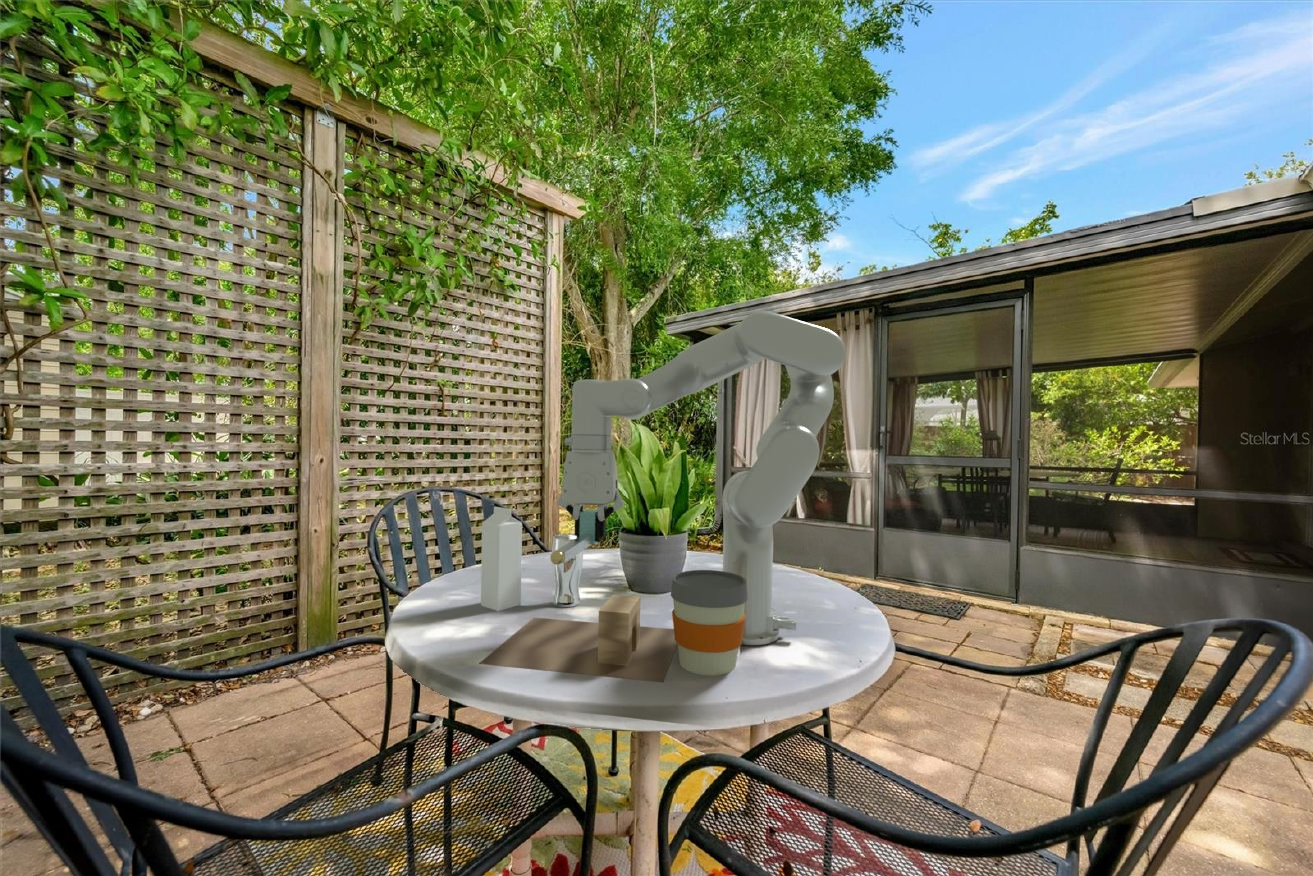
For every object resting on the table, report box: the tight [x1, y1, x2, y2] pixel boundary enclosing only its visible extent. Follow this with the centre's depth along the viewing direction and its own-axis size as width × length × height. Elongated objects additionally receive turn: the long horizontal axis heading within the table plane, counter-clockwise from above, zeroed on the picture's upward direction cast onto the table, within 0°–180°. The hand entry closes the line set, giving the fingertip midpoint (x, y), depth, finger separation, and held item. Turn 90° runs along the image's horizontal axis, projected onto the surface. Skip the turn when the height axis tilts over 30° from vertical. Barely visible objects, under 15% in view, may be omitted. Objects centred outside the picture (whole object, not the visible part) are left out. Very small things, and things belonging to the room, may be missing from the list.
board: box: [478, 617, 678, 683], centre depth 97 cm, size 30×22×1 cm
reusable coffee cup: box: [670, 569, 748, 676], centre depth 90 cm, size 13×13×15 cm
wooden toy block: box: [598, 594, 641, 666], centre depth 93 cm, size 5×9×8 cm, turn 170°
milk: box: [480, 506, 523, 612], centre depth 118 cm, size 6×6×22 cm
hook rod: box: [549, 508, 599, 565], centre depth 97 cm, size 21×3×6 cm, turn 170°
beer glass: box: [551, 533, 584, 608], centre depth 124 cm, size 7×7×15 cm
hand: (590, 539), depth 106 cm, fingers closed on hook rod, 3 cm apart
